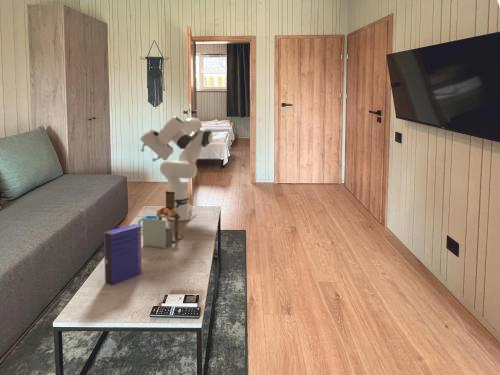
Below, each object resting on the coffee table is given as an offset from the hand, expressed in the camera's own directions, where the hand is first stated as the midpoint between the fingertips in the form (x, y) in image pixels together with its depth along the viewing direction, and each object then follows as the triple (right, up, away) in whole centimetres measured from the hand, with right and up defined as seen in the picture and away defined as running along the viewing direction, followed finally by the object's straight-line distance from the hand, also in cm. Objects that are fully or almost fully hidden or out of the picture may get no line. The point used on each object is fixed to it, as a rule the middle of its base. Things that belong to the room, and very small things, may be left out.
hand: (147, 156), depth 297 cm
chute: (+14, -36, -12) cm, 41 cm away
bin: (+10, -51, -19) cm, 56 cm away
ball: (+14, -33, -14) cm, 38 cm away
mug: (-1, -46, +8) cm, 46 cm away
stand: (+14, -49, -8) cm, 52 cm away
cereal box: (+3, -61, -68) cm, 92 cm away
